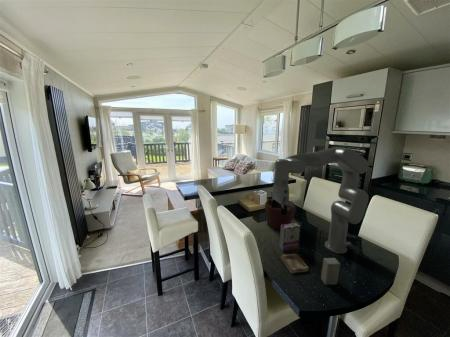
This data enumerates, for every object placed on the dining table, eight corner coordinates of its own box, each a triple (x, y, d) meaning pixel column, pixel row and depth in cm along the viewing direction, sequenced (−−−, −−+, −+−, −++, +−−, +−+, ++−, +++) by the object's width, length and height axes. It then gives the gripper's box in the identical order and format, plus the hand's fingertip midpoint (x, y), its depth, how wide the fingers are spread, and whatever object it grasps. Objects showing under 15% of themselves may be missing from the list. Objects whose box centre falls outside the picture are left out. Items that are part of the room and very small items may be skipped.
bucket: (297, 234, 138) (300, 202, 132) (266, 233, 138) (269, 201, 133) (287, 218, 162) (289, 190, 156) (261, 218, 162) (262, 190, 157)
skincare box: (331, 277, 99) (335, 257, 96) (337, 284, 94) (340, 263, 92) (320, 278, 98) (323, 257, 96) (324, 285, 94) (328, 263, 91)
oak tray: (296, 256, 114) (296, 253, 114) (308, 271, 103) (308, 267, 103) (281, 258, 113) (281, 255, 112) (291, 273, 101) (291, 269, 101)
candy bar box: (293, 244, 126) (295, 222, 122) (298, 249, 121) (300, 226, 118) (278, 247, 123) (280, 224, 119) (282, 252, 118) (285, 228, 115)
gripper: (297, 186, 97) (293, 217, 100) (278, 177, 113) (276, 204, 117) (284, 187, 95) (281, 218, 98) (267, 178, 111) (265, 205, 114)
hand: (278, 210), depth 107 cm, fingers open, 9 cm apart
